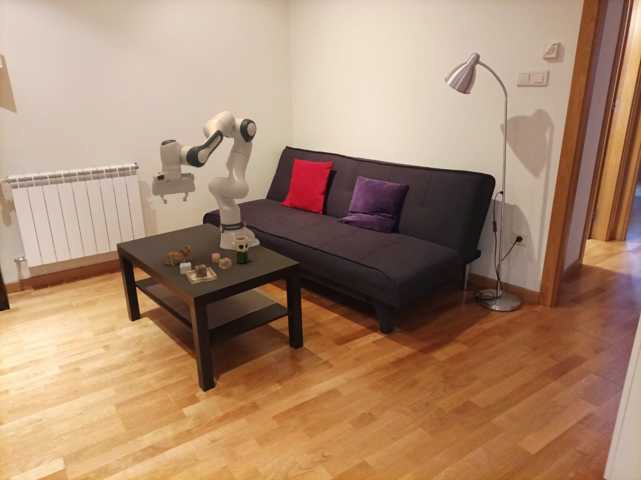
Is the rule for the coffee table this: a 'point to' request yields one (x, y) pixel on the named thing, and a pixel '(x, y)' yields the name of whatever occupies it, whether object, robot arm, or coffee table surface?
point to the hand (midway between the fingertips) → (175, 202)
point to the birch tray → (210, 277)
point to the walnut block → (201, 271)
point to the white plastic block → (185, 267)
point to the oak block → (225, 263)
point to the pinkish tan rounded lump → (215, 257)
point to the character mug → (241, 248)
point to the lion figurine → (179, 255)
